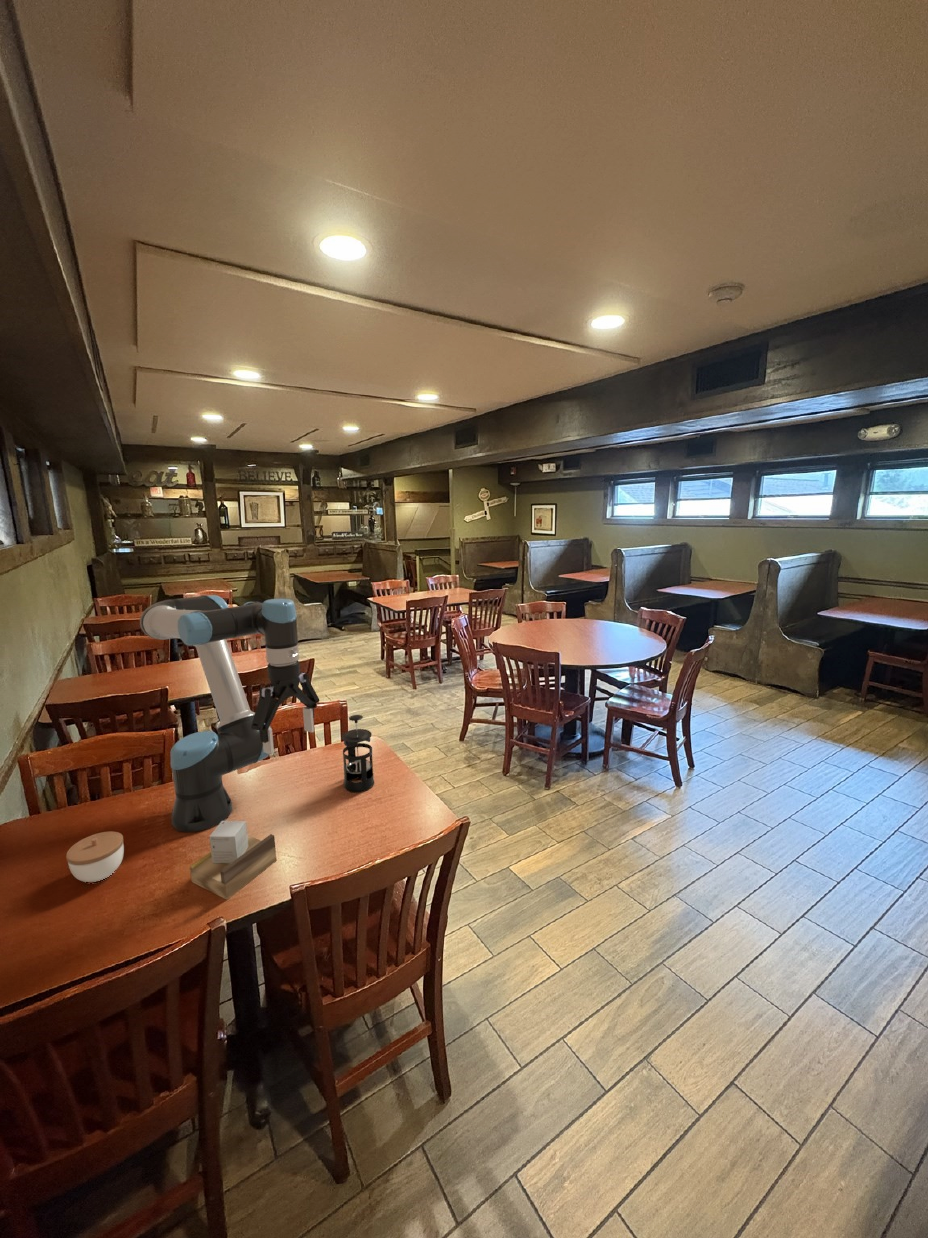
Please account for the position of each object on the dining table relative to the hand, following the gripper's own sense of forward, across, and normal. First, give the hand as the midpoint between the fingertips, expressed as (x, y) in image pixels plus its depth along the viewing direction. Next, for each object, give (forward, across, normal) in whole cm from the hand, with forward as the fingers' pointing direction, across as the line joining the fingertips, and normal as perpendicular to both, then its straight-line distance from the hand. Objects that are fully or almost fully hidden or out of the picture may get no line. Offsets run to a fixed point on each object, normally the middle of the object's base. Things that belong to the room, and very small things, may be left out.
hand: (290, 741), depth 124 cm
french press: (+27, +27, +1) cm, 38 cm away
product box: (+23, -17, +4) cm, 29 cm away
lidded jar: (+27, -32, +31) cm, 52 cm away
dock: (+27, -17, +3) cm, 32 cm away
